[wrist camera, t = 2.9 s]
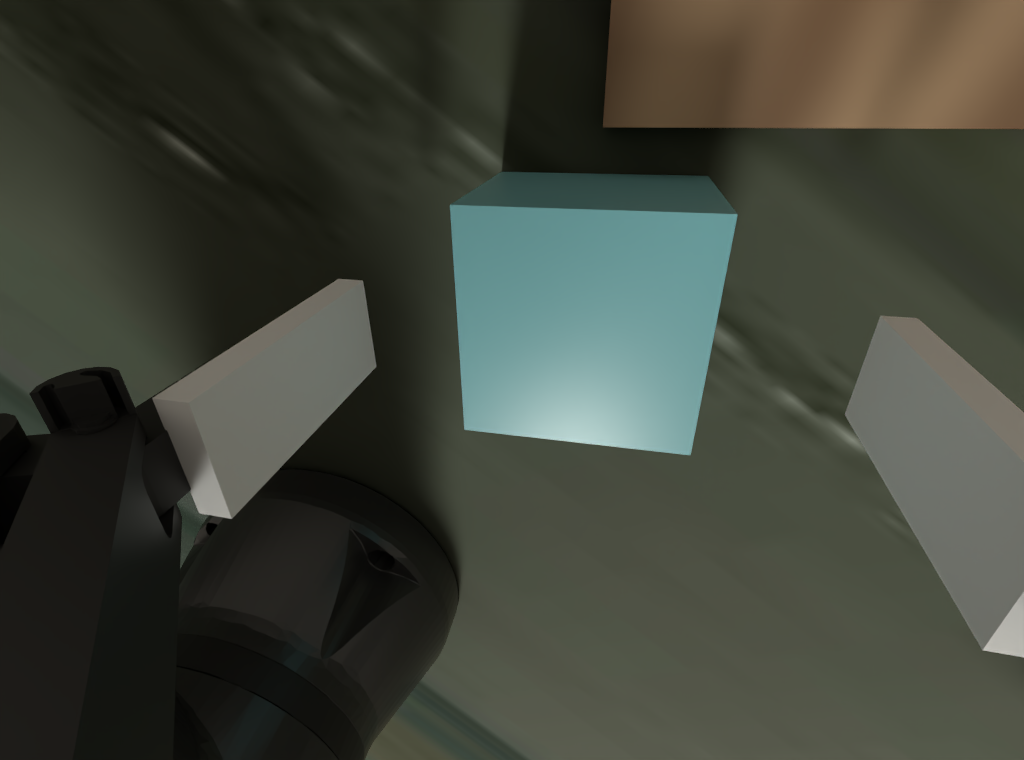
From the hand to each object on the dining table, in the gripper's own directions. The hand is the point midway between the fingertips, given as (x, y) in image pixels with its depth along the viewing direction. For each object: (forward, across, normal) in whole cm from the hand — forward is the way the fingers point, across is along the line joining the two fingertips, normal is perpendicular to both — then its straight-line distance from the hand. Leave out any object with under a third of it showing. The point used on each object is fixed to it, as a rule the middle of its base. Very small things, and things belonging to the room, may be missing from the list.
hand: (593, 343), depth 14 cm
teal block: (+7, 0, 0) cm, 7 cm away
